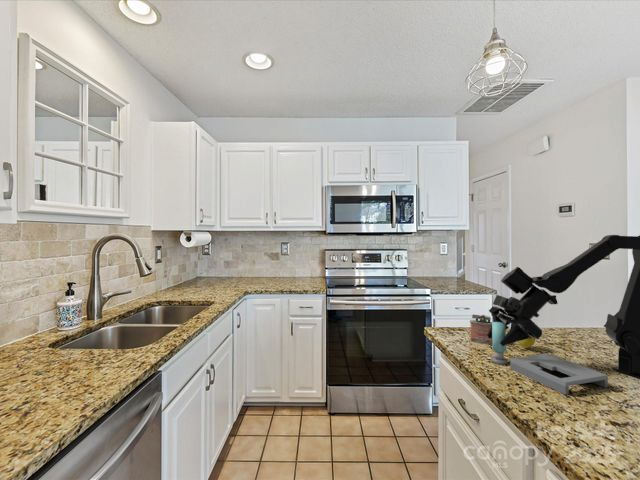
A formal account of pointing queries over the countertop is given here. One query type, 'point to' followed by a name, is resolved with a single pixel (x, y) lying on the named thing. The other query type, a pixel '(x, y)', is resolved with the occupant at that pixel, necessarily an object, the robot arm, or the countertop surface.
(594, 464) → the countertop surface
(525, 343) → the lemon
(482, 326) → the lighter
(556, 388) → the keyhole plate
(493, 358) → the peg
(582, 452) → the countertop surface
